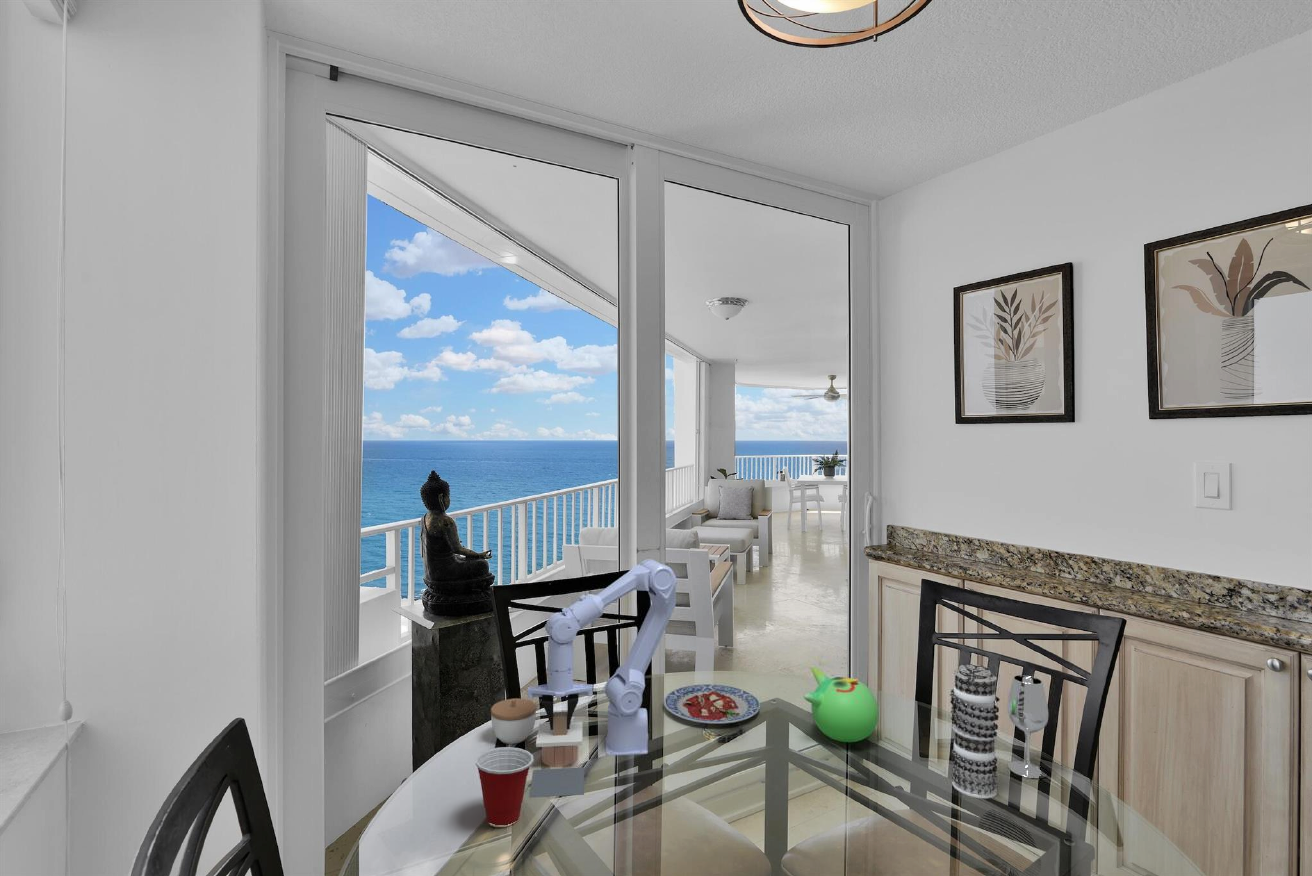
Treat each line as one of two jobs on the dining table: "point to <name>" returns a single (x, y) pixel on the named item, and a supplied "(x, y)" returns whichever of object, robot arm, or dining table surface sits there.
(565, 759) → the bowl
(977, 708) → the decorative candle
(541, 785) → the mat
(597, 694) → the dining table surface
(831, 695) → the toy bird
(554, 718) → the lid
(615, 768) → the dining table surface
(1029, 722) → the wineglass
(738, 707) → the ceramic plate
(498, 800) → the plastic cup
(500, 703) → the lidded jar
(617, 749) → the robot arm
